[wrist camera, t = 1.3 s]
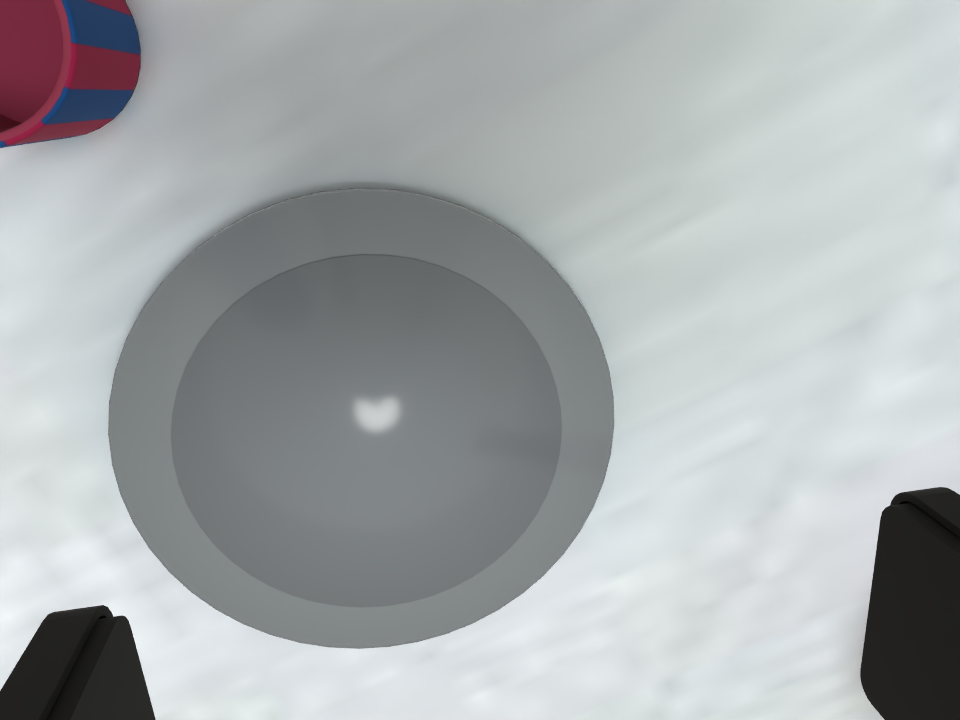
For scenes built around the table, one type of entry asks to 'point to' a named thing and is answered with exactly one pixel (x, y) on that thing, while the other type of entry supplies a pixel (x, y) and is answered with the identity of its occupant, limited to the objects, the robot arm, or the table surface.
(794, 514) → the table surface
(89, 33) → the cup
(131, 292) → the table surface
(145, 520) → the dish
